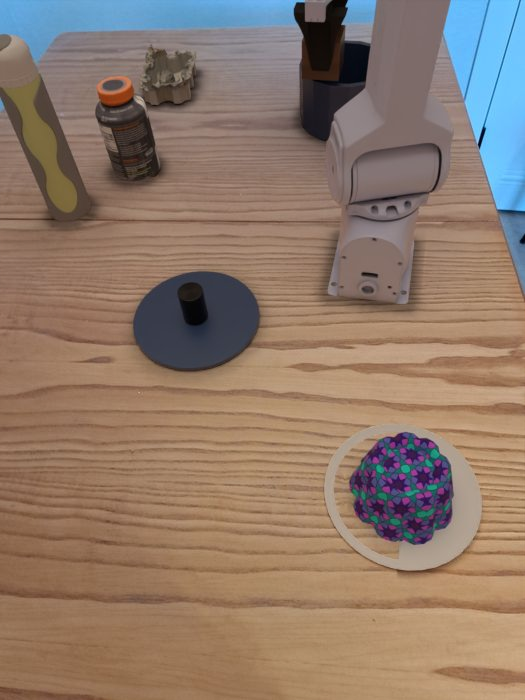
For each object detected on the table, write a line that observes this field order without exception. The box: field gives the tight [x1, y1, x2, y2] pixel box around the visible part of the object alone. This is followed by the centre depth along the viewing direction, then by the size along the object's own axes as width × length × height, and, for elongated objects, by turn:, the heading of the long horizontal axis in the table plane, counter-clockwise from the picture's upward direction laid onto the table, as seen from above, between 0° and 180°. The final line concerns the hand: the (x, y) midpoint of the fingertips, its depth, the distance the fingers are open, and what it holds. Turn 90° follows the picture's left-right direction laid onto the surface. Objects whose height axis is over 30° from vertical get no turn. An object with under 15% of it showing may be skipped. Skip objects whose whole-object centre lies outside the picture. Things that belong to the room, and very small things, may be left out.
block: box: [301, 24, 347, 81], centre depth 67 cm, size 4×4×4 cm
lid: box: [132, 270, 260, 372], centre depth 55 cm, size 12×12×5 cm
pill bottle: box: [94, 75, 161, 182], centre depth 68 cm, size 6×6×11 cm
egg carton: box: [139, 44, 197, 106], centre depth 83 cm, size 11×8×4 cm
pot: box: [298, 39, 371, 142], centre depth 74 cm, size 11×11×8 cm
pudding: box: [323, 422, 483, 571], centre depth 43 cm, size 12×12×5 cm
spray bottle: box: [0, 33, 92, 223], centre depth 61 cm, size 5×5×20 cm
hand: (323, 58), depth 68 cm, fingers closed on block, 4 cm apart
